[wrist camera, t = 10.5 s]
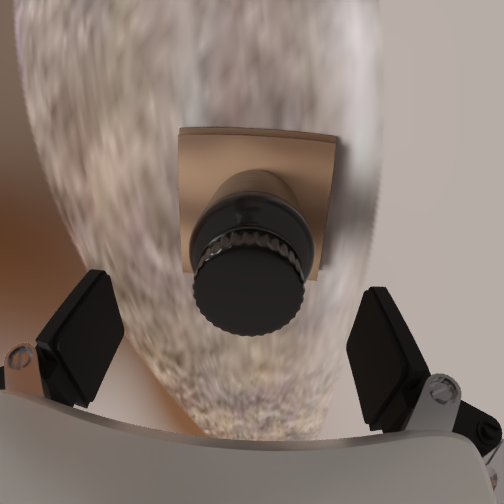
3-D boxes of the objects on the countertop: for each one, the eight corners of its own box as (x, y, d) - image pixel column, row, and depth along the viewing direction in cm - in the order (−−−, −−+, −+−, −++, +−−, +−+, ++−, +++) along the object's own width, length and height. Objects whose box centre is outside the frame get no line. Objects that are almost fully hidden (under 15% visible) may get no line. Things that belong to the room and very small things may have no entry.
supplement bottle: (313, 220, 23) (355, 313, 12) (244, 262, 25) (233, 371, 14) (266, 149, 21) (271, 184, 10) (194, 199, 22) (137, 277, 12)
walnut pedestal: (182, 127, 23) (172, 129, 20) (333, 135, 23) (342, 138, 20) (185, 261, 28) (178, 276, 26) (316, 269, 28) (321, 285, 26)
